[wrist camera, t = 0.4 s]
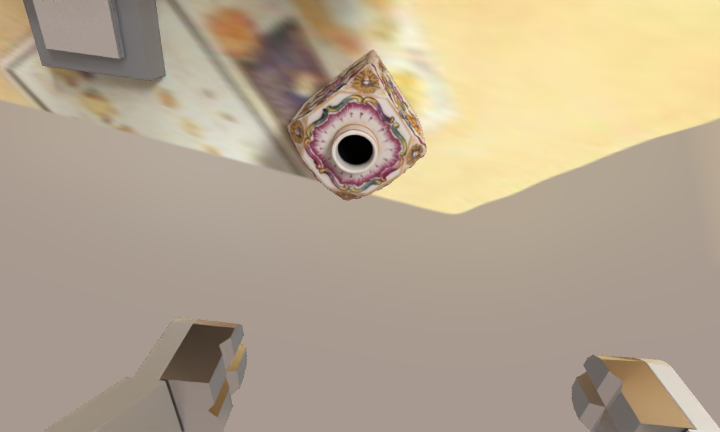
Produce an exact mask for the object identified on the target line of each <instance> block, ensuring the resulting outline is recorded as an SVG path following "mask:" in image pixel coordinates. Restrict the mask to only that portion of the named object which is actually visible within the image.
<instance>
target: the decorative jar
mask: <svg viewBox="0 0 720 432" xmlns="http://www.w3.org/2000/svg"><path fill="white" fill-rule="evenodd" d="M288 133H289V134H290V135H291V139H292V142H293V143H294V145H295V147H297V150H298V152H299V154H300V156H301V158H302V159H303V161H304V162H305V163H306V165H307V166H308V168H309V169H310V170H311V171H312V172H313V174H314V175H315V177H316V178H317V179H318V180H319V181H320V182H321V183H322V184H323V185H324V186H325V187H326V188H327V189H329V190H330V191H332V192H334V193H335V194H336V195H338V196H339V197H341V198H342V199H343V200H351V199H358V198H361V197H362V196H366V195H370V194H372V193H373V192H375V191H378V190H380V189H382V188H383V187H385V186H387V185H388V184H390V183H391V182H392V181H393V180H395V179H396V178H398V177H399V176H400V175H401V174H403V173H405V171H406V170H407V169H408V168H410V167H412V166H413V165H414V164H415V162H416V161H417V160H418V159H419V158H421V157H423V156H424V155H425V153H426V151H427V149H426V144H425V140H424V136H423V131H422V128H421V125H420V122H419V120H418V118H417V116H416V115H415V113H414V111H413V110H412V108H411V107H410V105H409V103H408V102H407V100H406V99H405V97H404V95H403V94H402V92H401V91H400V89H399V87H398V86H397V84H396V83H395V81H394V80H393V78H392V76H391V75H390V73H389V72H388V70H387V69H386V67H385V66H384V64H383V63H382V61H381V59H380V58H379V56H378V55H377V53H376V52H375V51H374V50H371V51H370V52H369V53H367V54H366V55H365V56H363V57H362V58H361V59H359V60H358V61H356V62H355V63H354V64H353V65H351V66H350V67H349V68H347V69H346V70H345V71H343V72H342V73H341V74H340V75H338V76H337V77H336V78H335V79H333V80H332V81H331V82H330V83H328V84H327V85H326V86H324V87H323V88H322V89H320V90H319V91H318V92H317V93H315V94H314V95H313V96H311V97H310V98H309V99H308V100H307V101H306V102H305V103H304V104H303V106H302V107H301V108H300V110H299V111H298V112H297V113H296V115H295V116H294V118H293V119H292V120H291V121H290V122H289V124H288Z"/></svg>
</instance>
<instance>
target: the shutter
mask: <svg viewBox="0 0 720 432" xmlns="http://www.w3.org/2000/svg"><path fill="white" fill-rule="evenodd" d="M33 3H34V7H35V10H36V14H37V17H38V21H39V24H40V28H41V31H42V35H43V38H44V42H45V45H46V49H53V50H60V51H67V52H74V53H82V54H89V55H96V56H103V57H111V58H118V59H120V58H125V54H124V48H123V43H122V38H121V32H120V27H119V22H118V16H117V11H116V6H115V0H33Z"/></svg>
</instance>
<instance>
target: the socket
mask: <svg viewBox="0 0 720 432" xmlns="http://www.w3.org/2000/svg"><path fill="white" fill-rule="evenodd" d="M23 2H24V5H25V8H26V12H27V15H28V18H29V22H30V25H31V29H32V32H33V35H34V39H35V42H36V46H37V49H38V52H39V56H40V59H41V63H42V66H48V67H55V68H63V69H70V70H77V71H85V72H92V73H99V74H106V75H114V76H121V77H128V78H135V79H143V80H153V79H156V78H159V77H162V76H165V68H164V60H163V53H162V46H161V39H160V32H159V24H158V17H157V10H156V3H155V0H115V6H116V11H117V16H118V22H119V27H120V32H121V38H122V43H123V48H124V54H125V58H120V59H118V58H111V57H103V56H96V55H89V54H82V53H74V52H67V51H60V50H53V49H46V45H45V42H44V38H43V35H42V31H41V28H40V24H39V21H38V17H37V14H36V10H35V7H34V3H33V0H23Z"/></svg>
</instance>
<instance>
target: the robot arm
mask: <svg viewBox="0 0 720 432" xmlns="http://www.w3.org/2000/svg"><path fill="white" fill-rule="evenodd" d="M243 336H244V333H243V327H242V325H240V324H234V323H225V322H217V321H208V320H199V319H188V318H179V317H178V318H176V319H175V320H173V321H172V322H171V323H170V324H169V326H168V327H167V329H166V330H165V332H164V333H163V334H162V336H161V337H160V339H159V340H158V342H157V343H156V345H155V346H154V348H153V349H152V351H151V352H150V354H149V355H148V356H147V358H146V359H145V361H144V362H143V364H142V365H141V367H140V368H139V370H138V371H137V373H136V374H135V376H134V377H133V378H132V377H126V378H124V379H123V380H121V381H120V382H118V383H116V384H115V385H113V386H112V387H110V388H109V389H107V390H106V391H104V392H103V393H101V394H99V395H98V396H96V397H95V398H93V399H92V400H90V401H88V402H87V403H85V404H84V405H82V406H81V407H79V408H77V409H76V410H74V411H73V412H71V413H70V414H68V415H67V416H65V417H63V418H62V419H60V420H59V421H57V422H56V423H54V424H52V425H51V426H49V427H48V428H46V429H45V430H43V431H42V432H223V430H224V428H225V425H226V422H227V420H228V417H229V414H230V412H231V410H232V407H233V405H232V401H231V395H232V394H233V393H235V392H236V391H237V390H238V389H239V388H240V385H241V383H242V380H243V378H244V373H245V369H246V363H247V354H246V353H247V352H246V347H245V346H243V344H241V341H242V338H243ZM584 367H585V369H586V372H585V373H584V374H582V375H580V376H578V377H577V378H576V380H575V382H574V384H573V386H572V402H573V406H574V410H575V412H576V414H577V416H578V418H579V420H580V421H581V422H582V423H583V424H584V425H585V426H586V427H587V428H588V429H590V430H591V431H590V432H720V428H719V427H718V426H717V424H716V423H715V422H714V421H713V419H712V418H711V417H710V416H709V414H708V413H707V412H706V411H705V410H704V408H703V407H702V405H701V404H700V403H699V402H698V400H697V399H696V398H695V397H694V395H693V394H692V393H691V392H690V390H689V389H688V388H687V386H686V385H685V384H684V383H683V381H682V380H681V379H680V378H679V376H678V375H677V374H676V373H675V372H674V370H673V369H672V367H671V366H670V365H668V364H667V363H665V362H664V361H662V360H650V359H636V358H630V357H616V356H603V355H592V356H590V357H588V358H587V360H586V361H585V363H584Z"/></svg>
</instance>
